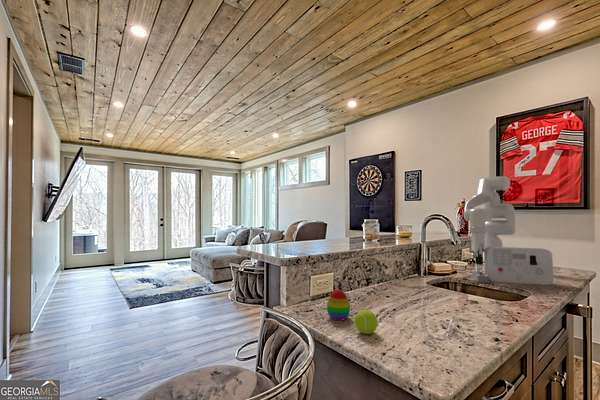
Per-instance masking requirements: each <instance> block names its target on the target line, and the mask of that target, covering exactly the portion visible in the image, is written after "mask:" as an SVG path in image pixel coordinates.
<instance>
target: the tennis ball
mask: <svg viewBox="0 0 600 400" xmlns="http://www.w3.org/2000/svg"><path fill="white" fill-rule="evenodd" d="M354 326H355V328H356V329H357V330H358V331H359V332H360V333H362V334H365V335H370V334H373V333H374V332H375V331H376V330H377V327H378V319H377V316H376V315H375V313H374V312H373V311H371V310H368V309H362V310H359V311H358V312H357V313H356V315H355V316H354Z"/></svg>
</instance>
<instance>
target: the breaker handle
mask: <svg viewBox="0 0 600 400" xmlns="http://www.w3.org/2000/svg"><path fill="white" fill-rule="evenodd" d="M475 270H476V272H477V273H478V274H480V271H481V264H476V263H475Z"/></svg>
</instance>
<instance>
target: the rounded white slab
mask: <svg viewBox="0 0 600 400" xmlns="http://www.w3.org/2000/svg"><path fill="white" fill-rule="evenodd" d="M483 254H484V255H483V256H484V265H485V268H484V273H485V274H486V275H488V276H489V282H490V281H491V282H494V283H495V282H497V283H508V284H509V283H512V284H524V283H526V284H527V285H528V284H529V285H539V284H540V285H543V286H549V285H552V284H553V283H554V267H553V263H554V261H553V253H552V251H550V249H546V248H543V247H542V248H540V247H538V248H537V247H510V246H508V247H506V246H505V247H504V246H502V247H487V248H486V249H485V251H484V252H483Z"/></svg>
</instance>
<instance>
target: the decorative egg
mask: <svg viewBox="0 0 600 400" xmlns="http://www.w3.org/2000/svg"><path fill="white" fill-rule="evenodd" d="M350 303H351V302H350V300H349V298H348V295H347V294H346V293H345V292H344V291H343V290H341V289H338V288H337V289H335V290H333V291H332V292H331V293H330V294H329V297H328V298H327V304H326V307H327V308H326V309H327V312H328V316H329V317H330V319H332V320H334V319H336V320H335V321H343V320H342V319H345V320H346V319H347V318H348V317H349V314H350V312H351V306H350Z"/></svg>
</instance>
